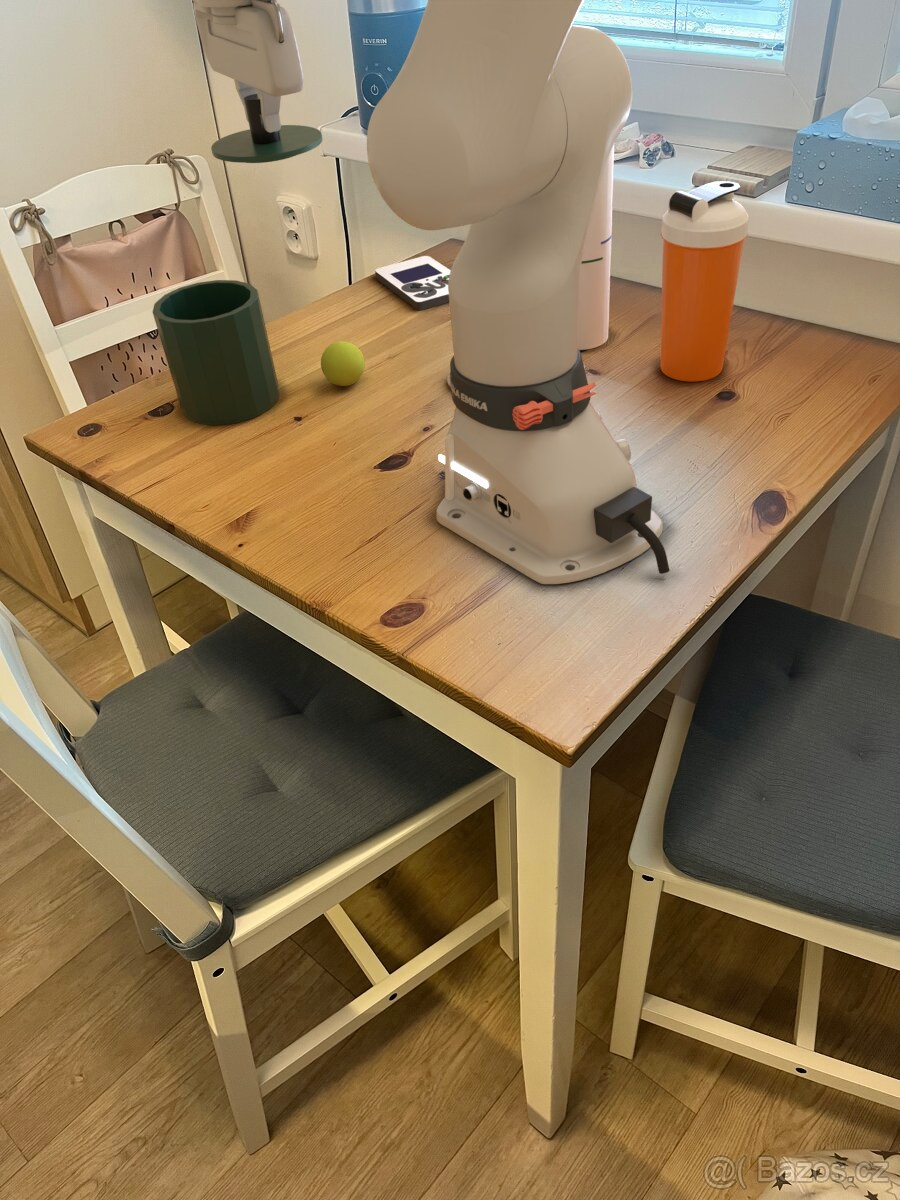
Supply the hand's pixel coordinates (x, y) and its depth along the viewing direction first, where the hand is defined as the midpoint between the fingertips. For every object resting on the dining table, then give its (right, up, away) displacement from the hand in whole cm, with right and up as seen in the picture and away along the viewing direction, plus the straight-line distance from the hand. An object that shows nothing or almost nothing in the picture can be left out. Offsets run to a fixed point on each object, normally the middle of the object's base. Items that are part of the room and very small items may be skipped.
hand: (264, 126), depth 106 cm
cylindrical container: (+37, -20, +13) cm, 44 cm away
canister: (-5, -29, +7) cm, 31 cm away
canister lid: (0, -2, +1) cm, 2 cm away
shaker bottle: (+49, -26, +4) cm, 56 cm away
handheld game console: (+17, -8, +29) cm, 35 cm away
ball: (+8, -25, +6) cm, 27 cm away
